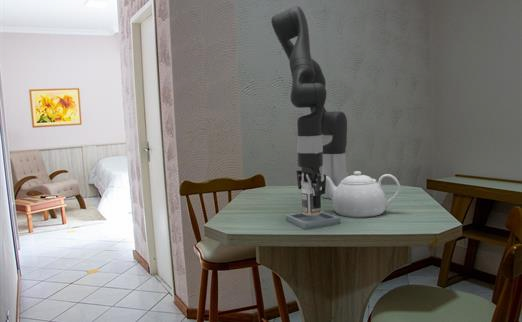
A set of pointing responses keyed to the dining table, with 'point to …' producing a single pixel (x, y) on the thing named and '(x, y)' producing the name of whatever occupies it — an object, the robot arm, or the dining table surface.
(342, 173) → the robot arm
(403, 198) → the dining table surface
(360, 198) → the teapot
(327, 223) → the dish
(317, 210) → the pill bottle
